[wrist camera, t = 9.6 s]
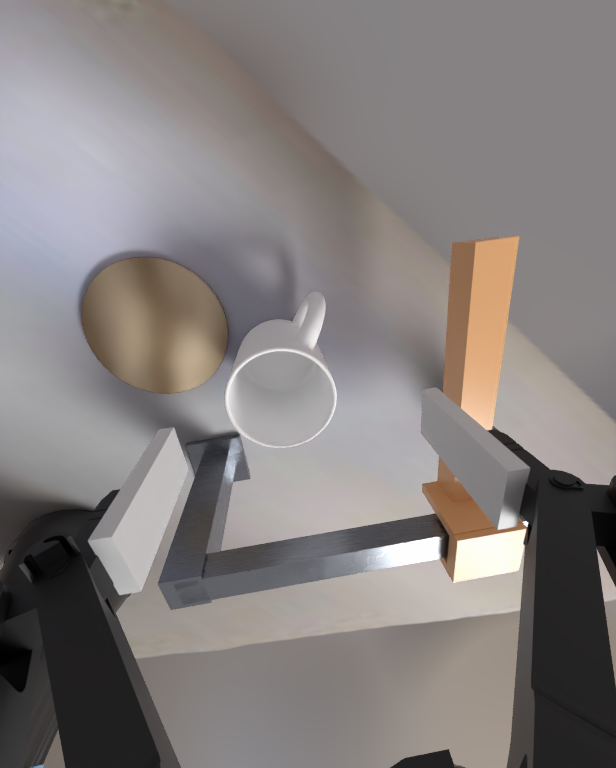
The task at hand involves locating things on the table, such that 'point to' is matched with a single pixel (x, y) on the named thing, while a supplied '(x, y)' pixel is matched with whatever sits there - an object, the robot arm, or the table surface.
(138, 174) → the table surface
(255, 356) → the mug
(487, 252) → the orange bar
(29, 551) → the robot arm
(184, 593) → the rail frame
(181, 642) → the table surface
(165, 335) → the coaster
